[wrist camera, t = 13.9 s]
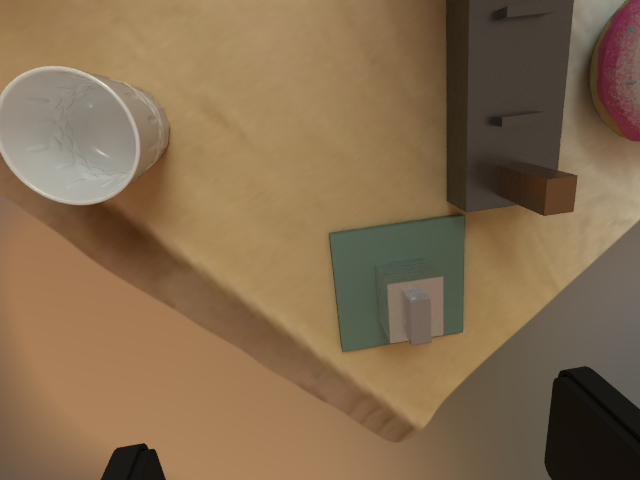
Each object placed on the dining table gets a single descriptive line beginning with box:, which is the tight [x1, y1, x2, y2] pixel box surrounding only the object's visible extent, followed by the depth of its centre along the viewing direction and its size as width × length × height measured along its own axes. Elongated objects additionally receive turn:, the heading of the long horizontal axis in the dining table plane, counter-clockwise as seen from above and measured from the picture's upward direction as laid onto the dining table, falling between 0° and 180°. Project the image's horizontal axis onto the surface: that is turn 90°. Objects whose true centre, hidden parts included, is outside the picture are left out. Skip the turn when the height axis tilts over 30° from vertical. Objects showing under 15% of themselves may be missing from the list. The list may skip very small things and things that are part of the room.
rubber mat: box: [329, 214, 465, 352], centre depth 40 cm, size 13×13×1 cm
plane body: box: [446, 0, 577, 216], centre depth 30 cm, size 22×8×10 cm, turn 7°
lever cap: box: [375, 257, 443, 346], centre depth 37 cm, size 6×5×6 cm
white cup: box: [0, 66, 170, 205], centre depth 28 cm, size 8×8×10 cm
